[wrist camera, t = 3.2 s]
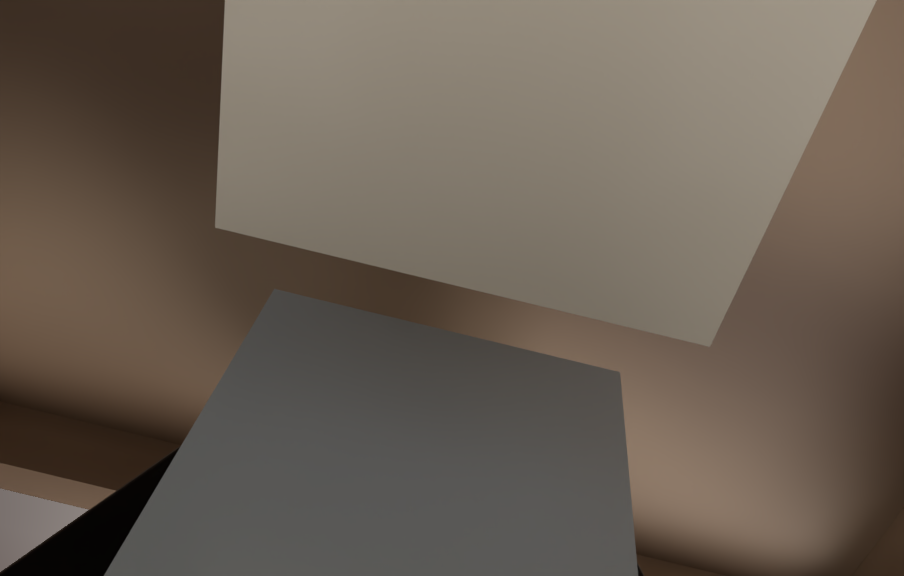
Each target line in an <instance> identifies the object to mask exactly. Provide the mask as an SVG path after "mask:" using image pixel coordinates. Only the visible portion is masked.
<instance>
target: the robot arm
mask: <svg viewBox="0 0 904 576" xmlns="http://www.w3.org/2000/svg"><path fill="white" fill-rule="evenodd" d="M180 447H181V446H179V447H178V448H176V449H175V450H173V451H172V452H171V453H169V454H168V455H166V456H165V457H163V458H162V459H161V460H159V461H158V462H156V463H155V464H154V465H152V466H151V467H149V468H148V469H146V470H145V471H144V472H142V473H141V474H139V475H138V476H136V477H135V478H134V479H132V480H131V481H129V482H128V483H127V484H125V485H124V486H122V487H121V488H119V489H118V490H117V491H115V492H114V493H112V494H111V495H109V496H108V497H107V498H105V499H104V500H102V501H101V502H99V503H98V504H97V505H95V506H94V507H92V508H91V509H90V510H88V511H87V512H85V513H84V514H82V515H81V516H80V517H78V518H77V519H75V520H74V521H73V522H71V523H70V524H68V525H67V526H65V527H64V528H63V529H61V530H60V531H58V532H57V533H56V534H54V535H53V536H51V537H50V538H48V539H47V540H45V541H44V542H43V543H41V544H40V545H38V546H37V547H36V548H34V549H33V550H31V551H30V552H28V553H27V554H26V555H24V556H23V557H21V558H20V559H18V560H17V561H16V562H14V563H13V564H11V565H10V566H9V567H7V568H6V569H4V570H3V571H1V572H0V576H104V575H105V573H106V571H107V570H108V568H109V566H110V565H111V563H112V561H113V559H114V558H115V556H116V554H117V553H118V551H119V549H120V548H121V546H122V544H123V543H124V541H125V539H126V538H127V536H128V534H129V533H130V531H131V529H132V527H133V526H134V524H135V522H136V521H137V519H138V517H139V516H140V514H141V512H142V511H143V509H144V507H145V506H146V504H147V502H148V501H149V499H150V497H151V496H152V494H153V492H154V490H155V489H156V487H157V485H158V484H159V482H160V480H161V479H162V477H163V475H164V474H165V472H166V470H167V469H168V467H169V465H170V464H171V462H172V460H173V458H174V457H175V455H176V453H177V452H178V450H179V448H180ZM637 568H638V576H644V574H643V572H642V570H641V568H640V566H639V565H638V563H637Z"/></svg>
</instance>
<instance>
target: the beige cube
mask: <svg viewBox="0 0 904 576" xmlns="http://www.w3.org/2000/svg"><path fill="white" fill-rule="evenodd" d="M876 1H877V0H225V11H224V33H223V56H222V79H221V101H220V124H219V147H218V169H217V192H216V215H215V228H219V229H223V230H227V231H231V232H236V233H240V234H244V235H248V236H252V237H256V238H260V239H265V240H269V241H273V242H277V243H281V244H285V245H289V246H294V247H298V248H302V249H306V250H310V251H314V252H319V253H323V254H327V255H331V256H335V257H339V258H343V259H348V260H352V261H356V262H360V263H364V264H368V265H372V266H377V267H381V268H385V269H389V270H393V271H397V272H401V273H406V274H410V275H414V276H418V277H422V278H426V279H431V280H435V281H439V282H443V283H447V284H451V285H455V286H460V287H464V288H468V289H472V290H476V291H480V292H484V293H489V294H493V295H497V296H501V297H505V298H509V299H513V300H518V301H522V302H526V303H530V304H534V305H538V306H543V307H547V308H551V309H555V310H559V311H563V312H567V313H572V314H576V315H580V316H584V317H588V318H592V319H596V320H601V321H605V322H609V323H613V324H617V325H621V326H625V327H630V328H634V329H638V330H642V331H646V332H650V333H655V334H659V335H663V336H667V337H671V338H675V339H679V340H684V341H688V342H692V343H696V344H700V345H704V346H708V347H710V346H711V344H712V341H713V339H714V337H715V335H716V333H717V331H718V329H719V327H720V325H721V323H722V321H723V319H724V316H725V314H726V312H727V310H728V308H729V306H730V304H731V302H732V300H733V298H734V296H735V294H736V292H737V289H738V287H739V285H740V283H741V281H742V279H743V277H744V275H745V273H746V271H747V269H748V267H749V265H750V262H751V260H752V258H753V256H754V254H755V252H756V250H757V248H758V246H759V244H760V242H761V240H762V237H763V235H764V233H765V231H766V229H767V227H768V225H769V223H770V221H771V219H772V217H773V215H774V213H775V210H776V208H777V206H778V204H779V202H780V200H781V198H782V196H783V194H784V192H785V190H786V188H787V186H788V183H789V181H790V179H791V177H792V175H793V173H794V171H795V169H796V167H797V165H798V163H799V161H800V159H801V156H802V154H803V152H804V150H805V148H806V146H807V144H808V142H809V140H810V138H811V136H812V134H813V131H814V129H815V127H816V125H817V123H818V121H819V119H820V117H821V115H822V113H823V111H824V109H825V107H826V104H827V102H828V100H829V98H830V96H831V94H832V92H833V90H834V88H835V86H836V84H837V82H838V80H839V77H840V75H841V73H842V71H843V69H844V67H845V65H846V63H847V61H848V59H849V57H850V55H851V52H852V50H853V48H854V46H855V44H856V42H857V40H858V38H859V36H860V34H861V32H862V30H863V28H864V25H865V23H866V21H867V19H868V17H869V15H870V13H871V11H872V9H873V7H874V5H875V3H876Z"/></svg>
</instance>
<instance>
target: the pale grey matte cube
mask: <svg viewBox="0 0 904 576" xmlns="http://www.w3.org/2000/svg"><path fill="white" fill-rule="evenodd" d="M104 576H638V568H637V557H636V546H635V534H634V523H633V512H632V501H631V489H630V478H629V467H628V456H627V444H626V433H625V422H624V411H623V399H622V388H621V377H620V372H618V371H613V370H609V369H605V368H601V367H597V366H593V365H588V364H584V363H580V362H576V361H572V360H568V359H564V358H559V357H555V356H551V355H547V354H543V353H539V352H535V351H530V350H526V349H522V348H518V347H514V346H510V345H505V344H501V343H497V342H493V341H489V340H485V339H481V338H476V337H472V336H468V335H464V334H460V333H456V332H451V331H447V330H443V329H439V328H435V327H431V326H427V325H422V324H418V323H414V322H410V321H406V320H402V319H398V318H393V317H389V316H385V315H381V314H377V313H373V312H368V311H364V310H360V309H356V308H352V307H348V306H344V305H339V304H335V303H331V302H327V301H323V300H319V299H314V298H310V297H306V296H302V295H298V294H294V293H290V292H285V291H281V290H277V289H274V290H273V292H272V294H271V295H270V297H269V299H268V300H267V302H266V304H265V305H264V307H263V309H262V310H261V312H260V314H259V315H258V317H257V319H256V320H255V322H254V324H253V325H252V327H251V329H250V331H249V332H248V334H247V336H246V337H245V339H244V341H243V342H242V344H241V346H240V347H239V349H238V351H237V352H236V354H235V356H234V357H233V359H232V361H231V363H230V364H229V366H228V368H227V369H226V371H225V373H224V374H223V376H222V378H221V379H220V381H219V383H218V384H217V386H216V388H215V389H214V391H213V393H212V395H211V396H210V398H209V400H208V401H207V403H206V405H205V406H204V408H203V410H202V411H201V413H200V415H199V416H198V418H197V420H196V421H195V423H194V425H193V426H192V428H191V430H190V432H189V433H188V435H187V437H186V438H185V440H184V442H183V443H182V445H181V447H180V448H179V450H178V452H177V453H176V455H175V457H174V458H173V460H172V462H171V464H170V465H169V467H168V469H167V470H166V472H165V474H164V475H163V477H162V479H161V480H160V482H159V484H158V485H157V487H156V489H155V490H154V492H153V494H152V496H151V497H150V499H149V501H148V502H147V504H146V506H145V507H144V509H143V511H142V512H141V514H140V516H139V517H138V519H137V521H136V522H135V524H134V526H133V527H132V529H131V531H130V533H129V534H128V536H127V538H126V539H125V541H124V543H123V544H122V546H121V548H120V549H119V551H118V553H117V554H116V556H115V558H114V559H113V561H112V563H111V565H110V566H109V568H108V570H107V571H106V573H105V575H104Z"/></svg>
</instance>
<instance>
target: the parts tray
mask: <svg viewBox="0 0 904 576" xmlns="http://www.w3.org/2000/svg"><path fill="white" fill-rule="evenodd" d="M224 11H225V0H0V488H2V489H5V490H10V491H14V492H18V493H22V494H26V495H30V496H35V497H39V498H43V499H47V500H51V501H56V502H60V503H64V504H68V505H73V506H76V507H81V508H85V509H89V510H90V509H91V508H92V507H94V506H95V505H97V504H98V503H99V502H101V501H102V500H104V499H105V498H107V497H108V496H109V495H111V494H112V493H114V492H115V491H117V490H118V489H119V488H121V487H122V486H124V485H125V484H127V483H128V482H129V481H131V480H132V479H134V478H135V477H136V476H138V475H139V474H141V473H142V472H144V471H145V470H146V469H148V468H149V467H151V466H152V465H154V464H155V463H156V462H158V461H159V460H161V459H162V458H163V457H165V456H166V455H168V454H169V453H171V452H172V451H173V450H175V449H176V448H178V447H179V446H181V445H182V443H183V442H184V440H185V438H186V437H187V435H188V433H189V432H190V430H191V428H192V426H193V425H194V423H195V421H196V420H197V418H198V416H199V415H200V413H201V411H202V410H203V408H204V406H205V405H206V403H207V401H208V400H209V398H210V396H211V395H212V393H213V391H214V389H215V388H216V386H217V384H218V383H219V381H220V379H221V378H222V376H223V374H224V373H225V371H226V369H227V368H228V366H229V364H230V363H231V361H232V359H233V357H234V356H235V354H236V352H237V351H238V349H239V347H240V346H241V344H242V342H243V341H244V339H245V337H246V336H247V334H248V332H249V331H250V329H251V327H252V325H253V324H254V322H255V320H256V319H257V317H258V315H259V314H260V312H261V310H262V309H263V307H264V305H265V304H266V302H267V300H268V299H269V297H270V295H271V294H272V292H273V290H274V289H277V290H281V291H285V292H290V293H294V294H298V295H302V296H306V297H310V298H314V299H319V300H323V301H327V302H331V303H335V304H339V305H344V306H348V307H352V308H356V309H360V310H364V311H368V312H373V313H377V314H381V315H385V316H389V317H393V318H398V319H402V320H406V321H410V322H414V323H418V324H422V325H427V326H431V327H435V328H439V329H443V330H447V331H451V332H456V333H460V334H464V335H468V336H472V337H476V338H481V339H485V340H489V341H493V342H497V343H501V344H505V345H510V346H514V347H518V348H522V349H526V350H530V351H535V352H539V353H543V354H547V355H551V356H555V357H559V358H564V359H568V360H572V361H576V362H580V363H584V364H588V365H593V366H597V367H601V368H605V369H609V370H613V371H618V372H620V377H621V388H622V399H623V411H624V422H625V433H626V444H627V456H628V467H629V478H630V489H631V501H632V512H633V523H634V534H635V546H636V557H637V563H638V565H639V566H640V568H641V570H642V572H643V574H644V576H904V0H877V1H876V3H875V5H874V7H873V9H872V11H871V13H870V15H869V17H868V19H867V21H866V23H865V25H864V28H863V30H862V32H861V34H860V36H859V38H858V40H857V42H856V44H855V46H854V48H853V50H852V52H851V55H850V57H849V59H848V61H847V63H846V65H845V67H844V69H843V71H842V73H841V75H840V77H839V80H838V82H837V84H836V86H835V88H834V90H833V92H832V94H831V96H830V98H829V100H828V102H827V104H826V107H825V109H824V111H823V113H822V115H821V117H820V119H819V121H818V123H817V125H816V127H815V129H814V131H813V134H812V136H811V138H810V140H809V142H808V144H807V146H806V148H805V150H804V152H803V154H802V156H801V159H800V161H799V163H798V165H797V167H796V169H795V171H794V173H793V175H792V177H791V179H790V181H789V183H788V186H787V188H786V190H785V192H784V194H783V196H782V198H781V200H780V202H779V204H778V206H777V208H776V210H775V213H774V215H773V217H772V219H771V221H770V223H769V225H768V227H767V229H766V231H765V233H764V235H763V237H762V240H761V242H760V244H759V246H758V248H757V250H756V252H755V254H754V256H753V258H752V260H751V262H750V265H749V267H748V269H747V271H746V273H745V275H744V277H743V279H742V281H741V283H740V285H739V287H738V289H737V292H736V294H735V296H734V298H733V300H732V302H731V304H730V306H729V308H728V310H727V312H726V314H725V316H724V319H723V321H722V323H721V325H720V327H719V329H718V331H717V333H716V335H715V337H714V339H713V341H712V344H711V346H710V347H708V346H704V345H700V344H696V343H692V342H688V341H684V340H679V339H675V338H671V337H667V336H663V335H659V334H655V333H650V332H646V331H642V330H638V329H634V328H630V327H625V326H621V325H617V324H613V323H609V322H605V321H601V320H596V319H592V318H588V317H584V316H580V315H576V314H572V313H567V312H563V311H559V310H555V309H551V308H547V307H543V306H538V305H534V304H530V303H526V302H522V301H518V300H513V299H509V298H505V297H501V296H497V295H493V294H489V293H484V292H480V291H476V290H472V289H468V288H464V287H460V286H455V285H451V284H447V283H443V282H439V281H435V280H431V279H426V278H422V277H418V276H414V275H410V274H406V273H401V272H397V271H393V270H389V269H385V268H381V267H377V266H372V265H368V264H364V263H360V262H356V261H352V260H348V259H343V258H339V257H335V256H331V255H327V254H323V253H319V252H314V251H310V250H306V249H302V248H298V247H294V246H289V245H285V244H281V243H277V242H273V241H269V240H265V239H260V238H256V237H252V236H248V235H244V234H240V233H236V232H231V231H227V230H223V229H219V228H215V215H216V192H217V169H218V147H219V124H220V101H221V79H222V56H223V33H224Z"/></svg>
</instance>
